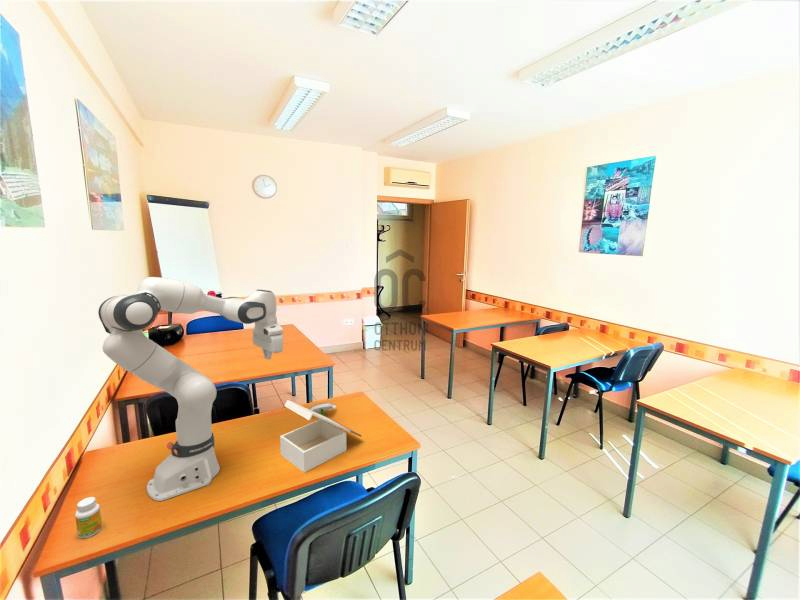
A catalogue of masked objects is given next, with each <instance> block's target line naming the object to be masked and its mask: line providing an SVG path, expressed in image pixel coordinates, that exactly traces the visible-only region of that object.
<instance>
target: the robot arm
mask: <svg viewBox="0 0 800 600" xmlns="http://www.w3.org/2000/svg"><path fill="white" fill-rule="evenodd" d="M97 311H98V313H97V314H98V319H99V320H100V322H101V324H102V326H103V329H104V331H105V332H106V333H107V334H109V335H108V336H107V337H106V338H105V340H104V341H103V344H102V352H103V353H104V354H105V355H106V357H108V358H109V359H110V360H111V361H112V362H114V363H115V364H117V365H118V366H119V367H121V368H122V369H124V370H125V371H126V372H128V373H129V374H132V375H134V376H135V377H137V378H139V379H140V380H142V381H144V382H145V383H148V384H149V385H151V386H154V387H155V388H158V389H160V390H162V391H164V392H166V393H167V394H169V395H171V396H172V397H174V398H175V399H176V401H177V405H178V406H177V407H178V411H177V418H176V419H175V431H176V432H175V433H176V442H174V443H173V442H172V441H170V442H168V443H167V444H166V448H167V449H168V450H170V452H171V453H170V454H169V455H168V456H167V457H166V458H165V459H164V460H163V461H162V462H160V463H159V464H158V465H157V466H156V468H155V471H154V475H153V478H152V479H150V480H149V481H148V482H147V484H146V492H147V495H148V496H149V497H150V499H152V500H154V501H157V502H162V501H165V500H169V499H171V498H173V497H177V496H179V495H182V494H186V493H189V492H192V491H194V490H197V489H200V488H203V487H207V486H209V485H210V484H211V482H212V480H213V478H215V476H216V475H217V474H218V473H219V472H220V469H221V466H220V464H219V462H218V459H217V456H216V453H215V452H216V451H215V443H216V442H215V441H216V440H215V435H214V433H213V428H212V427H213V425H212V409H213V403H214V401H215V400H216V398H217V394H218V393H217V388H216V386H215V384H214V382H213V381H212V380H211V379H210V377H209V378H208V377H207V376H206V375H204V374H203V373H201V372H199V370H197V369H195V368H194V367H193V366H191V365H190V364H188V363H186V362H184V361H183V360H182V359H181V358H179V357H177V356H176V355H174V354H173V353H171V352H170V351H168V350H167V349H165V348H164V347H162V346H161V345H159V344H158V343H157V342H155V341H153V339H150V338H148V336H146V335H145V334H144V332H143V330H144V329H146V328H148V327H149V326H150V325H152V324H153V322H154V321H155V319H156V318H157V315H158V313H159V312H160V311H165V312H168V313H170V312H171V313H174V314H175V313H176V314H185V315H187V314H189V315H192V314H196V313H197V312H198V311H203V312H209V313H212V314H213V313H214V314H218V315H219V316H221V317H223V319H226V320H227V321H229V322H230V321H231V322H236V323H241V324H244V325H248V324H249V325H250V324H254V327H253V328H254V329H252V344H253V346H256V347H259V348H260V349H261V351H262V353H263V358H264V359H266V360H268V361H269V360H271V359H272V354H279V353H282V352H283V350H284V336H283V334H284V329H283V327H282V326H281V325H280V324H279V323H278V318H277V314H276V313H277V301H276V295H275V293H274V292H273V291H271V290H267V289H266V290H265V289H255V290H254V292H253V293H251V294H250V295H248V296H247V297H246V298H240V297H237V296H229V297H224V298H222V297H218V296H215V295H214V296H213V295H208V294H205V293H204V291H203V289H202V288H201V287H199V286H197V285H194V284H192V283H188V282H186V281H182V280H178V279H172V278H165V277H159V276H149V277H146V278H145V279H143V280H142V281H141V282H140V283H139V284H138V287H137V291H136V292H135V293H133V294H121V295H120V294H119V295H115V296H114V295H113V296H112V297H108V298H107V299H105V300H104V301H103V302H102V303H101V304H100V305H99V308H98V310H97Z"/></svg>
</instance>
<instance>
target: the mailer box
mask: <svg viewBox="0 0 800 600" xmlns="http://www.w3.org/2000/svg"><path fill="white" fill-rule="evenodd" d="M279 441H280V443H279V447H280V455H281V456H282V457H283V458H285V459H286V460H287V461H288V462H290V463H291V464H292V465H294V466H295V467H296V468H297V469H298V470H300V471H301V472H303V473H306V472H309V471H310V470H312V469H314V468H316V467H318V466H320V465H322V464H323V463H325V462H327V461H330V460H331V459H333V458H335V457H337V456H339V455H340V454H342V453H345V452H346V451H347V450H348V449H347V432H346V430H344V429H342V428H340V427H337V426H335V425H333V424H331V423H328V422H326V421H324V420H321V419H318V420H315V421H313V422H310V423H307V424H306V425H303V426H301V427H299V428H296V429H294V430H291V431H289V432H287V433H284V434H281V435H279Z"/></svg>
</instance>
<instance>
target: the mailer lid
mask: <svg viewBox="0 0 800 600" xmlns="http://www.w3.org/2000/svg"><path fill="white" fill-rule="evenodd" d="M284 407H286V408H287V409H289V410H291V411H293V412H294V413H295V414H298V415H299V416H301V418H305V419H306V420H308V421H311V419H312V418H313V417H315V418H317V419H318V420H320V419H321V420H324V421H326V422H328V423H330V424H332V425H334V426H336V427H338V428H339V429H341V430H343V431H347V432H349V433H352V434H353V435H356V436H358V437H362V434H360V433H358V432H356V431H354V430H352V429H351V428H348V427H347V426H345V425H343V424H342V423H340V422H337V421H335V420H334V419H331V418H329V417H327V416H325V415H324V416H323V415H321V413H319V412H318V413H316V412H314V411H311V410H309V409H310V408H307V407H304V406H303V405H300V404H298V403H296V402H293V401H291V400H289V399H287V400H286V402H285V404H284Z"/></svg>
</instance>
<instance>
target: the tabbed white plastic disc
mask: <svg viewBox="0 0 800 600" xmlns="http://www.w3.org/2000/svg"><path fill="white" fill-rule="evenodd" d="M336 405H337V404H335V403H334V404H333V403H332V402H321V403H318V404H314V405H312V406H311V407H310V408H308V409H309V410H311V411H314V412H318V413H320V415H323V416H325V414H324V412H327V411H329V410H335V409H336V408H337V406H336ZM323 411H324V412H323Z"/></svg>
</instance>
